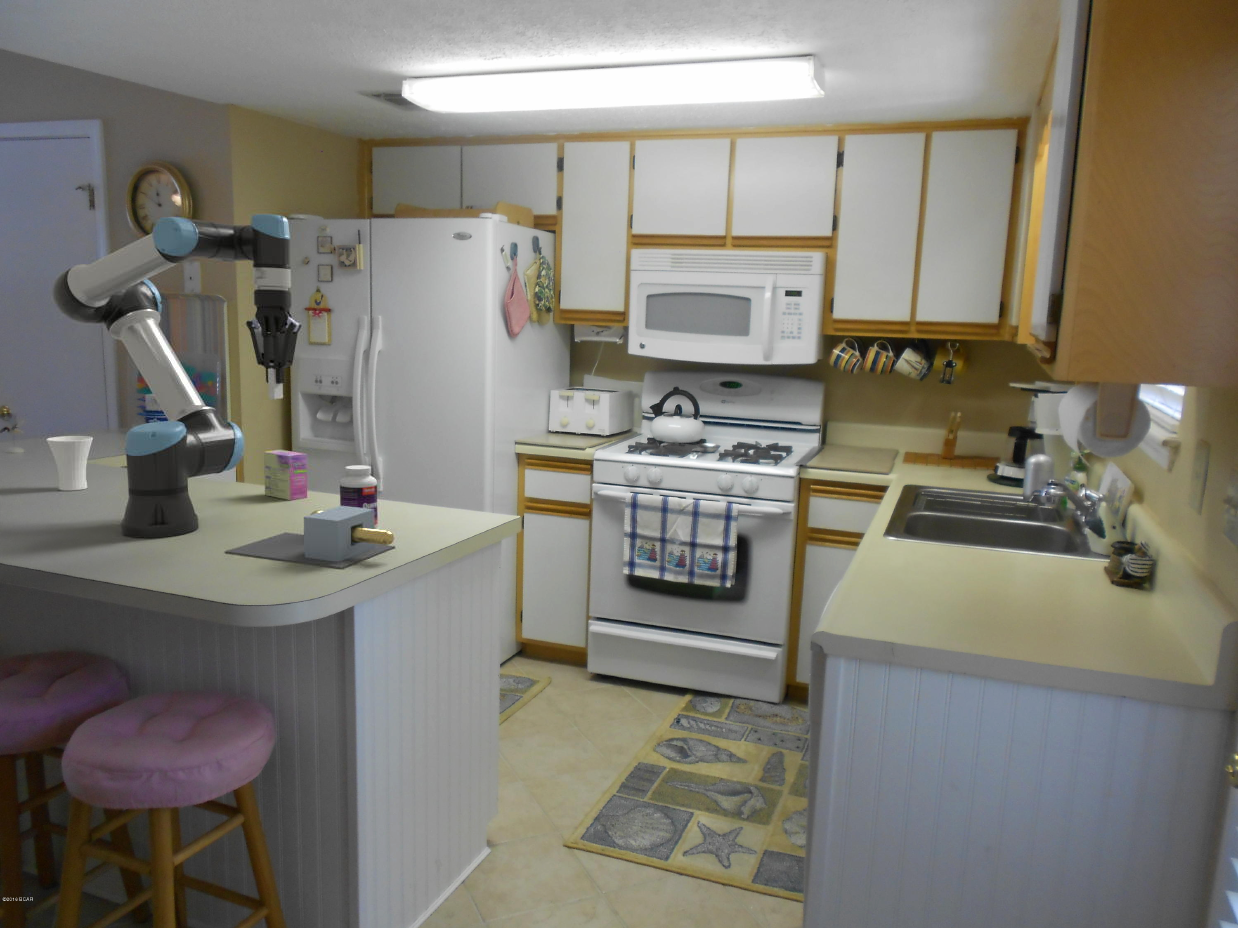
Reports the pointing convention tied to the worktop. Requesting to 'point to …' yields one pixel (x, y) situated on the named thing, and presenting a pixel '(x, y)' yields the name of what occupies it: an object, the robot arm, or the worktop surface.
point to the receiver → (336, 533)
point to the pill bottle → (359, 489)
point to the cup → (71, 460)
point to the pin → (369, 535)
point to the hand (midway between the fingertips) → (276, 398)
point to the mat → (298, 551)
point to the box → (285, 474)
